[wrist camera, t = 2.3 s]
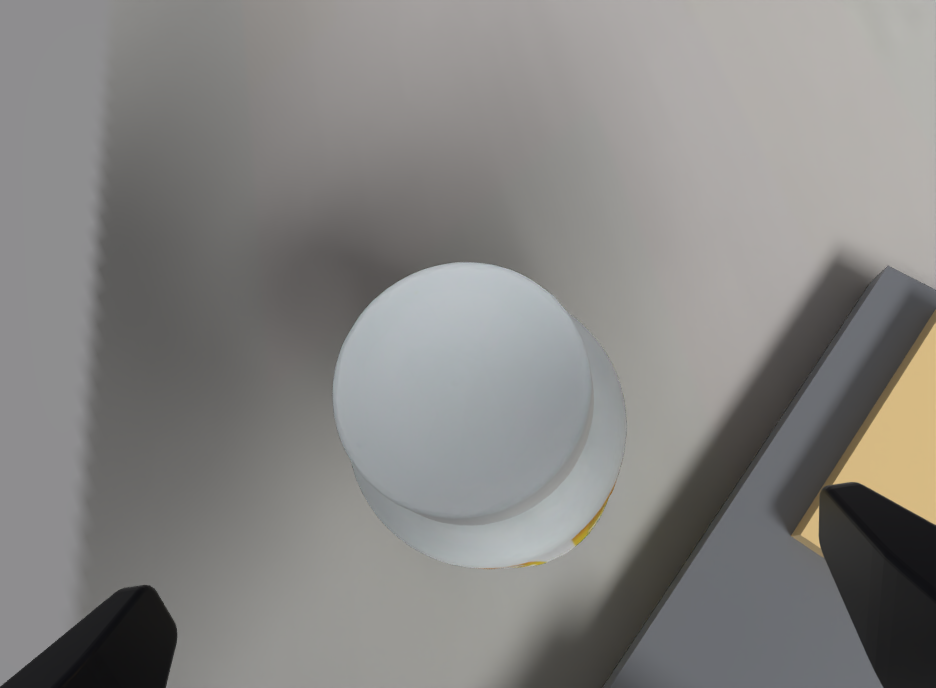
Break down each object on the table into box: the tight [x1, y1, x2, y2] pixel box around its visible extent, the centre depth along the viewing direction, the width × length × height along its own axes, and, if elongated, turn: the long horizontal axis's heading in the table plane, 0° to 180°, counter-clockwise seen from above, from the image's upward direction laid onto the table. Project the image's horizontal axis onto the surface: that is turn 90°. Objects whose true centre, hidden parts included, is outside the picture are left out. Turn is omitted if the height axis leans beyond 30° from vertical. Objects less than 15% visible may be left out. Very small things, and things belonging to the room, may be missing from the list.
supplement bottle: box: [332, 262, 627, 569], centre depth 15 cm, size 5×5×10 cm
